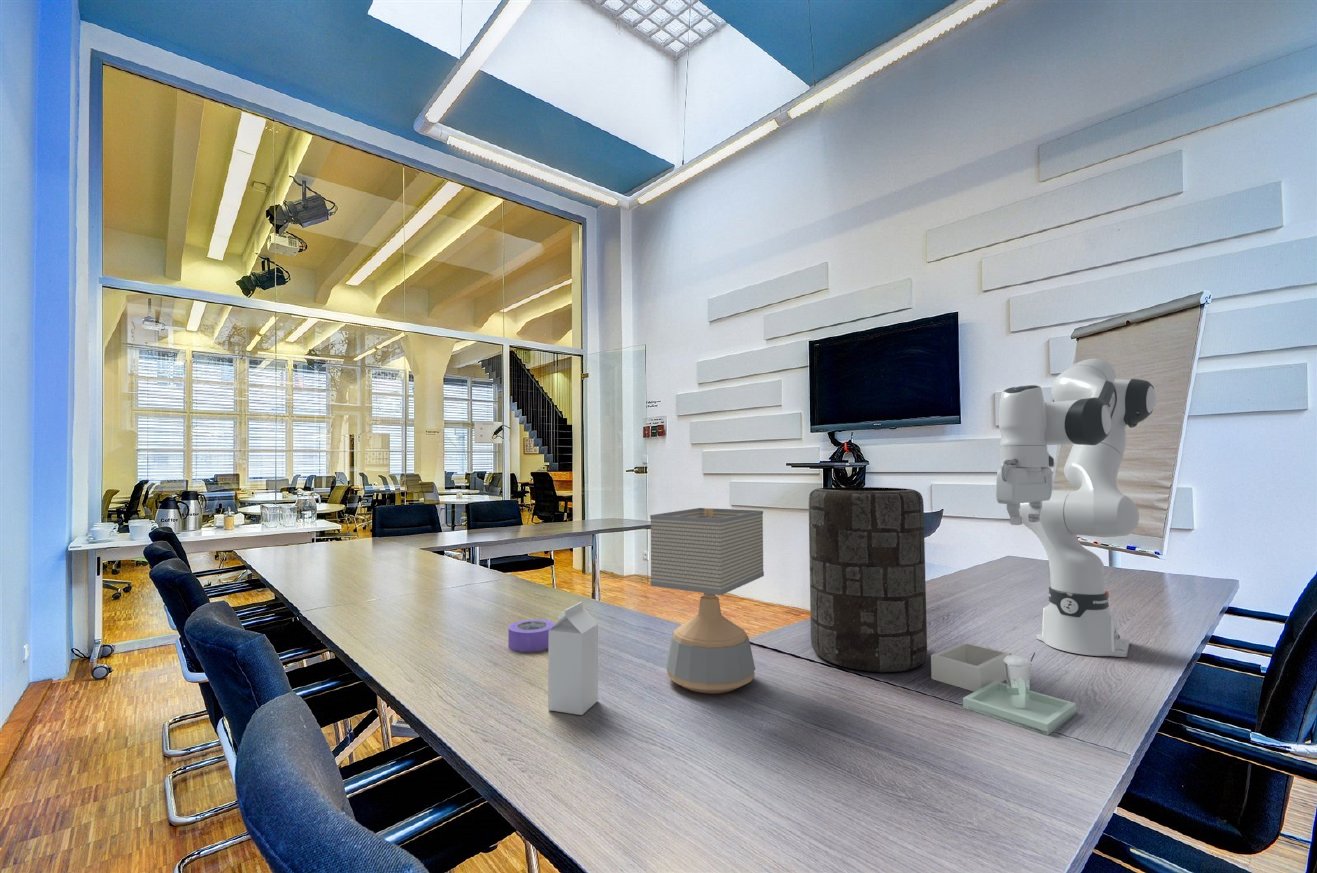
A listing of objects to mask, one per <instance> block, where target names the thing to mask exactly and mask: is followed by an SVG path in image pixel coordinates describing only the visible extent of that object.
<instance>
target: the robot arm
mask: <svg viewBox="0 0 1317 873" xmlns="http://www.w3.org/2000/svg"><path fill="white" fill-rule="evenodd" d="M1050 391H1051V392H1050V394H1051V397H1052V401H1047V402H1045V397H1044V394H1043V389H1042V387H1041V386H1040V385H1037V384H1035V385H1034V384H1032V385H1021V386H1020V385H1019V386H1013V387H1009V388H1006V389H1004V390H1003V391H1002V392H1001V395H1000V399H999V405H998V428H999V431H1000V432H999V433H1000V441H999V445H998V446H999V469H998V470H997V474H996V479H995V480H996V483H995V485H996V486H995V498H996V501H997V503H998V504H1003V505H1006V510H1007V513H1008V516H1009V523H1010V525H1012V526H1021V525H1022V524H1023V525H1024V526H1025V527H1027V528H1028V529H1029V530H1030V531H1031V532H1032V533H1034V534H1035V535H1036V537H1037V538H1038V540H1039V541H1040V543H1041V544H1042V546H1043V548H1044V550H1045V552H1046V555H1047V556H1046V557H1047V558H1048V565H1049V577H1050V581H1049V582H1050V586H1049V587H1048V592H1047V593H1048V601H1049V604H1048V605H1046V606H1044V607H1043V609H1042V610H1043V611H1042V630H1041V632H1040V633H1036V636H1035V637H1036V640H1039V641H1042V642H1043V643H1045V644H1046V645H1047V646H1049V647H1051V648H1054V649H1057V650H1060V651H1064V652H1067V653H1072V654H1077V655H1084V656H1095V657H1117V658H1118V657H1120V658H1127V657H1128V653H1129V650H1130V649H1129V648H1130V640H1129V639H1128V638H1126V637H1122V636H1120V633H1119V632H1118V630H1119V628H1118V627H1119V626H1118V620H1117V618H1116V617H1115V616H1114V614H1113V613H1112V612H1111V611H1110V609H1109V608H1110V607H1109V606H1110V605H1109V604H1110V603H1109V597H1110V593H1109V591H1108V590H1106V589H1105V584H1106V583H1105V566H1104V562H1103V561H1102V559H1101V558H1100V556H1098V555H1097V554H1095V553H1094V552H1092V551H1091V550H1089V549H1087V548H1086V547H1084V546H1083V545H1082V544H1081V542H1080V541H1079V538H1078V536H1086V537H1087V536H1088V537H1096V538H1097V537H1099V538H1115V537H1116V538H1117V537H1125V536H1126V537H1127V536H1129V535H1130V534H1132V533H1133V532H1134V531H1135V530H1136V528H1137V526H1138V524H1139V520H1140V513H1139V509H1138V507H1137V505H1136V504H1135V502H1134V501H1133V500H1132V499H1131V498H1130V497H1128V496H1127V495H1126V494H1123V493H1122V492H1121V491H1120V490H1119V488H1118V486H1117V478H1118V472H1119V470H1120V466H1121V464H1122V461H1123V457H1124V453H1125V449H1126V442H1127V433H1126V427H1127V426H1128V428H1131V429H1132V428H1135V427H1137V426H1138V424H1139V423H1140V422H1142V421H1145V419H1147V418H1148V417H1149V416H1150V415H1151V414H1152V413H1153V411H1154V409H1155V406H1156V402H1157V393H1156V391H1155V387H1154V385H1153V384H1152V383H1151V382H1150V381H1148V380H1146V379H1145V380H1144V379H1140V378H1139V379H1138V378H1132V379H1125V378H1124V379H1123V378H1116V371H1115V369H1114V367H1113V366H1112V365H1111V364H1110V363H1109V362H1108V361H1106V360H1104V359H1100V358H1087V359H1084V360H1080V361H1078V362H1076V363H1073V364H1072V365H1070V366H1068V367H1067V368H1066V369H1065V370H1063V371H1062V372H1060V374H1058V375H1057V376H1056V378H1055V379H1054V381H1053V383H1052V384H1051V389H1050ZM1054 445H1056V446H1057V445H1061V446H1062V445H1065V446H1066V445H1072V446H1071V450H1070V452H1069V454H1068V456H1067V459H1066V461H1065V465H1064V467H1063V473H1064V474H1063V475H1064V477H1065V479H1066V480H1067V482H1069V484H1071V485H1072V486H1073V487H1074V488H1076V490H1059V489H1057V490H1056V489H1055V490H1053V471H1052V468H1054V467H1055V458H1054V457H1053V456H1052V455H1051V454H1050V453H1049V451H1048V446H1054ZM1077 535H1078V536H1077Z"/></svg>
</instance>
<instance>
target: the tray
mask: <svg viewBox="0 0 1317 873" xmlns="http://www.w3.org/2000/svg"><path fill="white" fill-rule="evenodd" d="M1077 707H1078V706H1077V702H1072V701H1070V700H1065V699H1062V698H1058V697H1055V696H1052V695H1047V694H1045V693H1041V692H1038V691H1033V690H1030V691H1029V708H1027V709H1019V708H1015V707H1012V706H1011V705H1009V700H1008V691H1007V683H1005V682H998V681H994V682H992V683H990V684H988V685H987V686H985V687H983V688H981V689H979V690H977V691H975V692H973V691H972V693H970V694H967V695H966V696H964V697H962V708H963V709H967V710H969V711H972V712H975V713H978V714H981V715H985V716H987V717H990V718H994V719H997V720H999V721H1002V722H1006V723H1009V724H1013V725H1015V726H1018V727H1021V728H1024V729H1027V730H1030V731H1033V732H1036V733H1039V734H1043V735H1046V736H1049V735H1050V734H1052V733H1053V732H1054V731H1055V730H1057V729H1058V728H1059V727H1060V726H1062V725H1063V724H1065V723H1066V722H1068V721H1069V720H1071V718H1072V717H1074V716H1076V714H1078V710H1077Z"/></svg>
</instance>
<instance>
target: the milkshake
mask: <svg viewBox="0 0 1317 873" xmlns="http://www.w3.org/2000/svg"><path fill="white" fill-rule="evenodd" d="M1035 655H1036V652H1033V654H1032V656H1031V658H1030V660H1029V659H1027V658H1026V657H1024V656H1020V655H1016V654H1011V655H1008V656H1006V657H1005V658H1004V659H1003V662H1004V669H1005V675H1006V680H1005V681H1006V684H1007V691H1008V700H1009V705H1011V706H1012V707H1015V708H1019V709H1027V708H1029V691H1031V690H1030V688H1031V687H1030V686H1031V677H1032V676H1031V675H1032V667H1033V666H1032V661H1033V659H1034V657H1035Z"/></svg>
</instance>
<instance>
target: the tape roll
mask: <svg viewBox="0 0 1317 873" xmlns="http://www.w3.org/2000/svg"><path fill="white" fill-rule="evenodd" d="M555 624H556V623H555V622H554V621H552V620H548V619H543V618H542V619H540V618H538V619H537V618H533V619H532V618H531V619H530V618H529V619H524V620H523V619H522V620H519V621H514V622H512V623H511V624H509V626H508V643H507V644H508V648H509V649H510V650H512V651H516V652H521V653H522V652H524V653H527V652H529V653H530V652H539V651H544V650H548V641H549V629H551V628H552V627H553V626H554V625H555Z"/></svg>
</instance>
